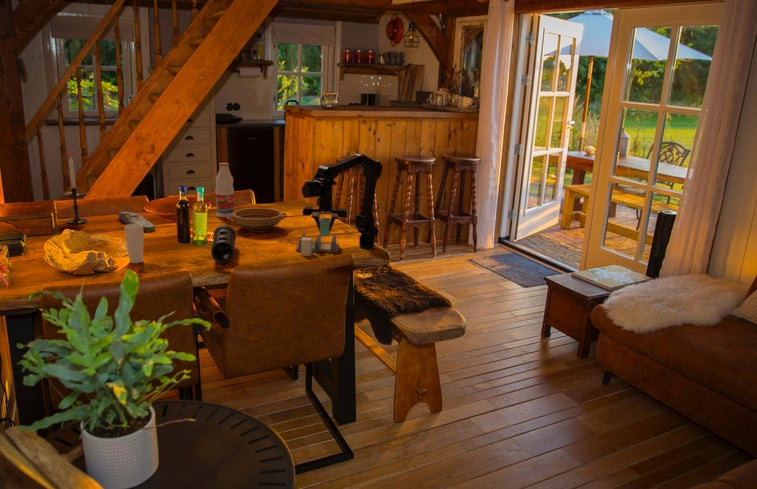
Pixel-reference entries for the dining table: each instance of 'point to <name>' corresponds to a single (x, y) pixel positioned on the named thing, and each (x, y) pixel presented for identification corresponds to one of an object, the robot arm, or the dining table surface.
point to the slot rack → (321, 245)
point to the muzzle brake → (223, 244)
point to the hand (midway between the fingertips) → (325, 231)
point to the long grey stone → (136, 220)
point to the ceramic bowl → (257, 218)
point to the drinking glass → (134, 242)
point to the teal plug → (324, 226)
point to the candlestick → (74, 196)
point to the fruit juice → (224, 192)
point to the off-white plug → (306, 246)
